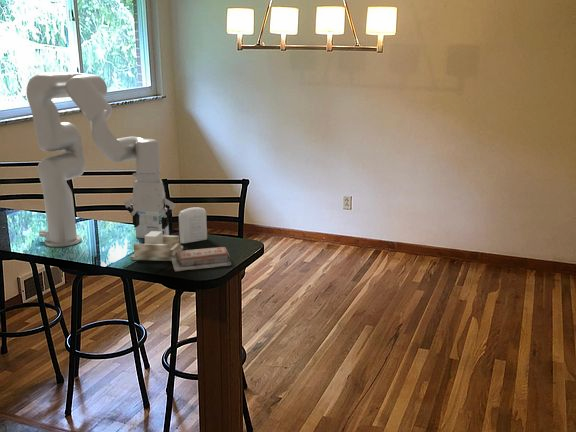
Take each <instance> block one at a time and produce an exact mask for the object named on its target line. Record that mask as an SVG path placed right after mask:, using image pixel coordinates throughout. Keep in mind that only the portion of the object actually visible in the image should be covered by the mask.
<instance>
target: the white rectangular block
mask: <svg viewBox="0 0 576 432" xmlns="http://www.w3.org/2000/svg"><path fill="white" fill-rule="evenodd" d="M144 244H163V232H162V231H151V232H150V233H148V234H147V235H146V236H145V241H144Z"/></svg>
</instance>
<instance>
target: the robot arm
mask: <svg viewBox="0 0 576 432" xmlns="http://www.w3.org/2000/svg"><path fill="white" fill-rule="evenodd" d="M107 86H108V85H107V83H106V82H105V80H104V79H103V78H102V77H101V76H100V75H98V74H89V73H80V72H72V71H60V72H59V71H58V72H57V71H55V72H43V73H39V74H36V75H34V76H33V77H31V78H30V79H29V80H28V82H27V86H26V97H27V98H26V99H27V101H28V103H29V104H28V105H29V107H30V110H31V115H32V121H33V126H34V131H35V138H36V142H37V147H38V148H39V149H40V150H41V151H43V152H47V153H51V152H52V153H53V152H58V151H60V153H59V154H54V155H49V156H45V157H44V158H42V159H41V160H40V161H39V163H38V165H37V175H38V177H39V181H40V184H41V189H42V192H43V193H42V194H43V202H44V208H45V209H44V210H45V215H46V224H47V225H46V226H47V230H42V229H41V230H39V232H38V233H39V234H38V236H39V238H45V240H44V245H45V246H47V247H52V248H61V247H62V248H63V247H70V246H73V245H76V244H79V243H81V242H82V240H83V238H82V236H81V235H79V234H77V233H78V232H77V226H76V225H77V224H76V216H75V207H74V198H73V197H74V196H73V192H72V190H71V188H70V186H69V184H68V182H67V181H69V180H73V179H77V178H79V177H80V176H82V175H83V174H84V172H85V171H86V160H85V154H84V149H83V142H82V136H81V133H80V131H79V129H78V128H77V126H76V125H75V124H73V123H71V122H69V121H68V122H67V121H63V122H61V118H60V113H59V110H58V108H57V105H55V103H54V102H53V101H52V100H53V99H59V98H61V99H62V98H71V100H72V101H73V102H74V104H75V105H76V106H77V108H78V109H79V110H80V111H81V112H82V114H83V115H84V116H85V118H86V119H87V120H88V121H89V123H90V131H91V135H92V140H93V141H94V144H95V145H96V147H97V148H98V150H99V151H100V152H101V153H102V154H103V156H105V158H107V160H109V161H111V162H112V163H116V164H117V163H118V164H119V163H123V162H128V161H132V160H135V163H136V164H135V167H136V168H135V169H136V171H135V172H132V177H133V178H135V181H134V183H133V189H132V197H131V198H130V199H127V200H125V201H124V203H123V205H124V206H125V208H126V210H127V211H128V212H129V213H130V216H132V224H133V227H134V228H135V227H137V226H139V214H138V211H139V212H160V213H161V215H162V216H163V217H162V229H165V228H166V227H167V226H169V215H170V214H171V213H172V212H174V209H175V208H176V203H174V202H172V200H171V201H170V200H169V199H167V198H166V192H165V191H166V190H165V186H164V182H163V180H161V163H160V161H161V160H160V159H161V158H160V157H161V156H160V143H159V141H158V140H156V139H153V138H143V137H139V136H135V135H133V136H126V137H125V136H124V137H120V138H116V137H115V135H114V134H113V132H111V130H110V129H109V126H108V124H107V121H108V119H110V117H112V113H113V107H112V106H111V105H110V103H109V102H108V101H107V100H106V99H105V97H106V96H107V93H108V87H107ZM131 203H132V204H131ZM131 205H132V206H131ZM166 206H169V208H168V209H167V210H166V209H165V208H167V207H166Z"/></svg>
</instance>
